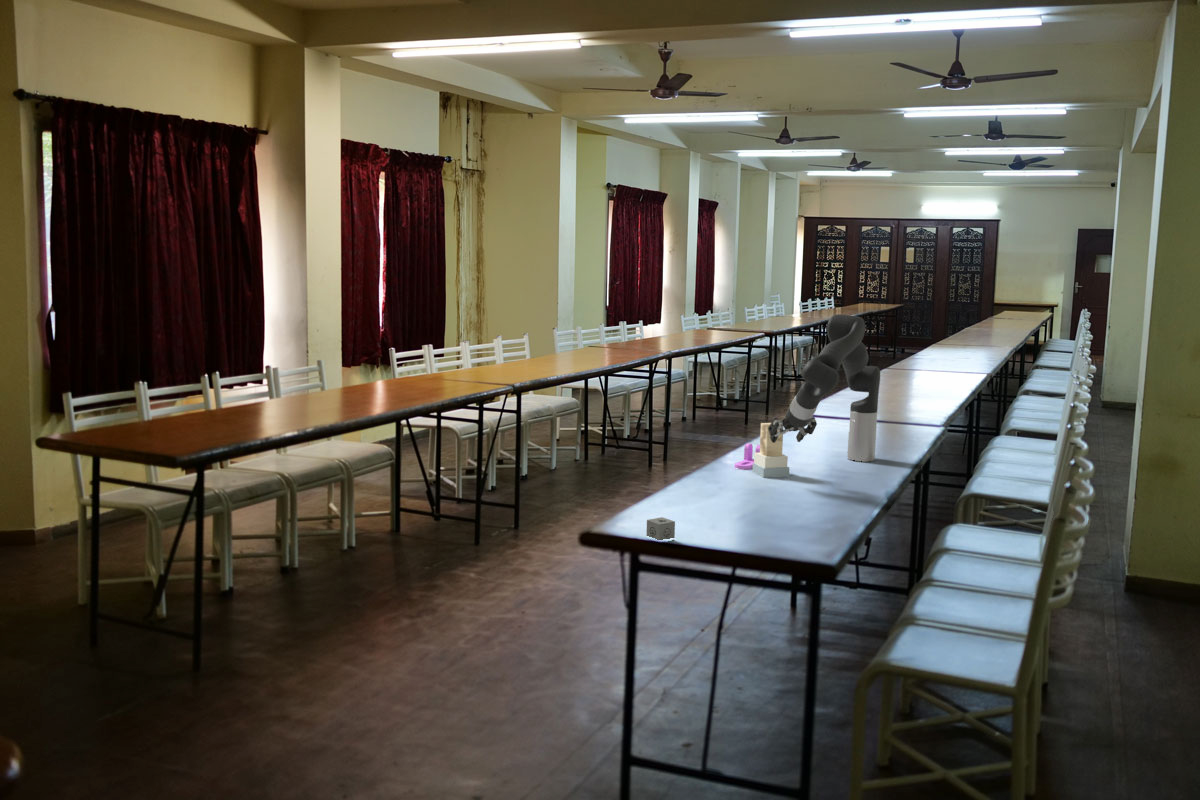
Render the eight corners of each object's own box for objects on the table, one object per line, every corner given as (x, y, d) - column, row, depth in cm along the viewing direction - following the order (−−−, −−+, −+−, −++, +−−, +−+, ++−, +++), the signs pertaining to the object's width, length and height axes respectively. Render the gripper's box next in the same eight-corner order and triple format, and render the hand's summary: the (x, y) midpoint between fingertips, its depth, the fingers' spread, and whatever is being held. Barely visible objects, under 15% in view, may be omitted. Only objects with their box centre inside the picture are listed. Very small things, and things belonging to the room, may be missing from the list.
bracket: (748, 462, 363) (749, 442, 362) (763, 464, 360) (764, 444, 359) (731, 468, 352) (732, 448, 351) (747, 470, 349) (747, 450, 348)
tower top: (753, 463, 346) (754, 452, 345) (775, 462, 348) (776, 451, 348) (764, 468, 338) (765, 457, 338) (787, 466, 340) (787, 456, 340)
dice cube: (658, 543, 260) (659, 524, 259) (646, 539, 264) (646, 519, 263) (674, 540, 263) (675, 521, 262) (661, 536, 267) (662, 517, 266)
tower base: (752, 473, 347) (752, 462, 346) (777, 472, 349) (778, 462, 348) (763, 479, 338) (763, 468, 337) (789, 478, 340) (789, 467, 340)
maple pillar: (759, 453, 345) (760, 423, 343) (775, 452, 346) (776, 422, 345) (766, 456, 339) (767, 425, 338) (782, 455, 341) (783, 425, 339)
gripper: (820, 399, 322) (802, 429, 335) (777, 399, 319) (761, 431, 331) (827, 418, 318) (809, 449, 330) (783, 419, 314) (767, 450, 327)
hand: (785, 440), depth 331 cm, fingers open, 8 cm apart
